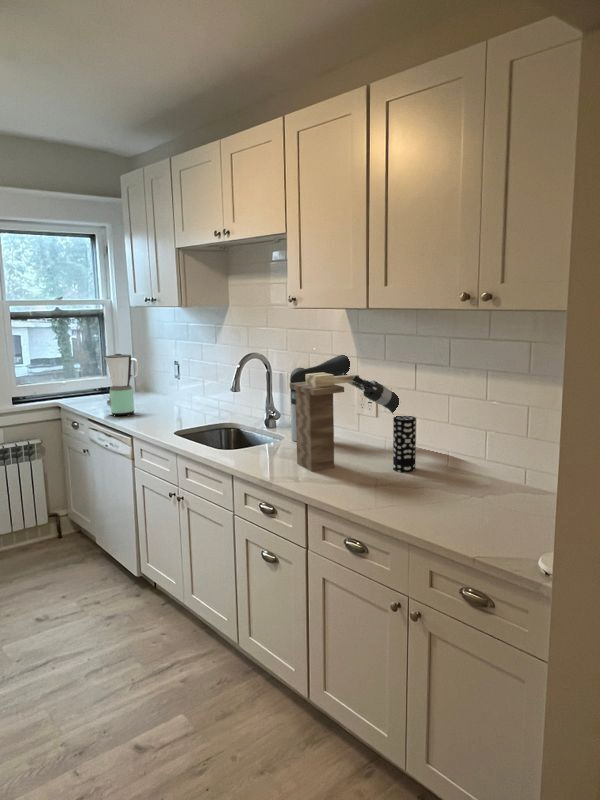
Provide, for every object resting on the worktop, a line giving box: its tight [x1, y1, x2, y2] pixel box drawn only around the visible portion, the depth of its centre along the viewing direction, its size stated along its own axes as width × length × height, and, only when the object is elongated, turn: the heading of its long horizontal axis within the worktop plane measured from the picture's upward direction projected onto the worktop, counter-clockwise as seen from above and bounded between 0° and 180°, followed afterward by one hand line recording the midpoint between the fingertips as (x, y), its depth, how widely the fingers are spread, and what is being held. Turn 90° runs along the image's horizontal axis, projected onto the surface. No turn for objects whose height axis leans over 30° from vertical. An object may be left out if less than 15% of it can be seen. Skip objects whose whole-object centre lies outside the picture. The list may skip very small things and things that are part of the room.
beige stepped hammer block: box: [305, 372, 360, 387], centre depth 233 cm, size 8×21×4 cm, turn 117°
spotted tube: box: [392, 415, 417, 473], centre depth 226 cm, size 8×8×20 cm
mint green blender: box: [103, 353, 139, 416], centre depth 343 cm, size 19×13×35 cm
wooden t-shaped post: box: [289, 382, 345, 472], centre depth 233 cm, size 20×13×32 cm, turn 27°
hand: (348, 376), depth 236 cm, fingers open, 8 cm apart
